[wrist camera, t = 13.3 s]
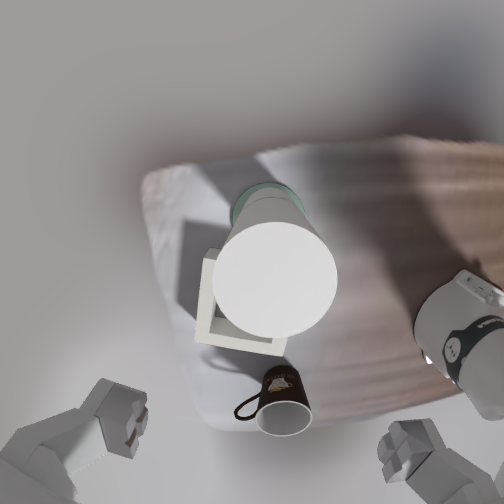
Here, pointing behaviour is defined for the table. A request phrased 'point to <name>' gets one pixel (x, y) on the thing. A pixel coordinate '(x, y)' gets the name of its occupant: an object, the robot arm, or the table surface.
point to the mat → (250, 191)
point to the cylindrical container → (273, 269)
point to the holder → (226, 320)
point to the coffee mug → (280, 403)
